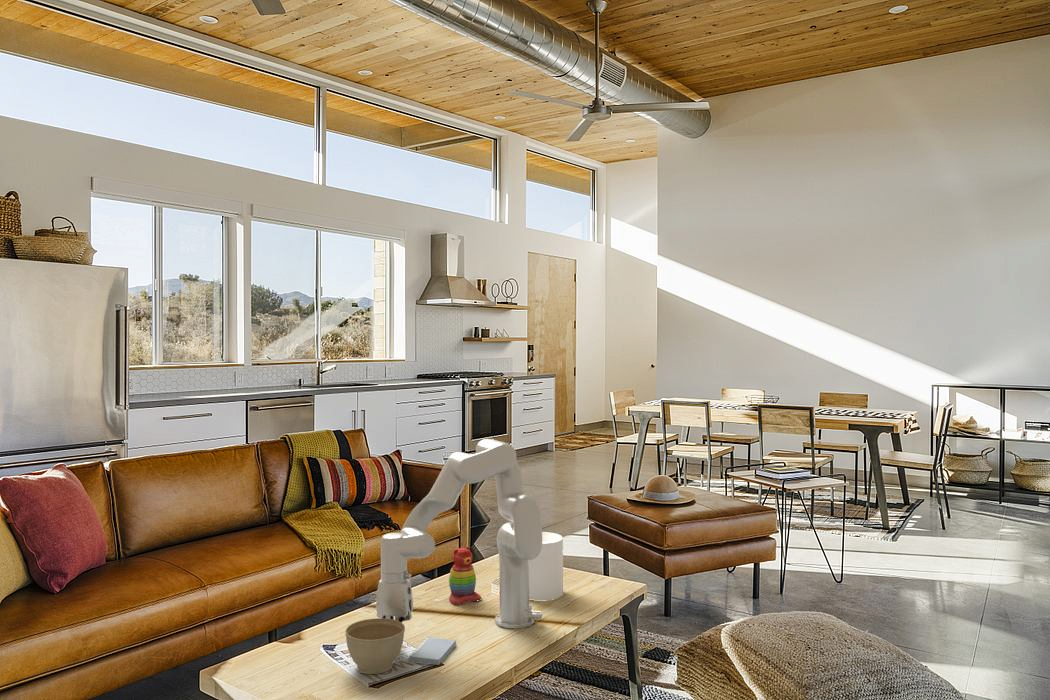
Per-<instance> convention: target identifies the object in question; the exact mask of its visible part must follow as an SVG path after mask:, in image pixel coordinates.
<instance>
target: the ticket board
mask: <svg viewBox="0 0 1050 700" xmlns="http://www.w3.org/2000/svg"><path fill="white" fill-rule="evenodd" d="M456 645H457V640H456V639H450V638H449V639H448V638H440V637H429V636H428V637H426V638H425V639H424V640H423V641H422V643H420V644H419V645H418V646H417V647H416V648H415V649H414V651H413V652H412V653H410V654H409V656H408V662H410V663H417V664H427V665H437V666H439V665H440V664H442V662H443V661H444V660H445V659H446V657H447V656H448V655H449V654H450V653H451V652H452V650H453V649H454V648H455V647H456Z"/></svg>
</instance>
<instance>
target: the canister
mask: <svg viewBox="0 0 1050 700" xmlns="http://www.w3.org/2000/svg"><path fill="white" fill-rule="evenodd" d="M563 550H564V538H563V536H562V535H561V534H558V533H555V532H550V531H549V532H548V531H542V549H541V551H540V553H539V555H538V556H537V557H536V558H534V559H532V560H528V561H529V599H534V600H551V601H553V600H552V599H555V600H557V599H556V598H558V597H560V596H562V597H563V595H564V552H563ZM560 598H561V597H560Z"/></svg>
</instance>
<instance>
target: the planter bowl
mask: <svg viewBox="0 0 1050 700" xmlns="http://www.w3.org/2000/svg"><path fill="white" fill-rule="evenodd" d="M405 630H406V626H405V624H404V623H403V622H402V623H401V622H399V621H397V620H395V619H394V620H393V619H385V618H379V617H377V618H368V619H367V618H365V619H362V620H359V621H355V622H353V623H351V624H349V625H348V626H347V627H346V628H345V632H344V633H345V637H346V638H345V639H346V646H347V650H348V654H349V655H350V658H351V660H353V662H354V663H355V665H356V668H357V670H358V671H359V672H360V673H363V674H367V675H368V674H369V675H376V674H383V673H385V672H388V671H390V670H391V669H392V668H393V664H394V662H395V660H396V659H397V658H398V656H399V654H400V652H401V650H402V647H403V645H404V644H403V643H404V637H405Z"/></svg>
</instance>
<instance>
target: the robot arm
mask: <svg viewBox="0 0 1050 700" xmlns="http://www.w3.org/2000/svg"><path fill="white" fill-rule="evenodd" d="M493 477H494V479H495V486H496V487H495V488H496V498H497V499H496V500H497V508H498V512H499V514H500V516H501V517H503V518H504V519H506V520H508V521H509V522H506V523H504V524H502V525H501V526H500V528H499V529H498V531H497V535H496V544H497V551H498V561H499V562H498V563H499V613H498V614H497V615H496V616H495V617H494V623H495V624H496V625H498V626H499V627H501V628H505V629H522V628H527V627H529V626H531V625H533V624H534V622H535V620H538V621H539V620H540V621H542V620H543V613H541V611H540V610H533V606H532V605H530V600H529V561H528V560H532V559H534V558H536V557H537V556H538V555H539V553H540V551H541V549H542V532H543V528H542V527H543V526H542V517H541V516H542V513H541V508H540V505H539V503H538V501H537V499H536V498H535V497H533V496H531V495H530V494H528V493H525V490H524V483H523V476H522V471H521V467H520V465H519V461H518V460H517V452H516V449H515V448H514V447H513V445H511V444H510V443H508V442H504V441H500V440H496V439H493V438H484V439H481V440H480V441H478V443H477V444H476V447H475V453H473V454H470V453H468V452H467V453H466V452H462V451H456V452H453V453H451V454H450V455H449V457H448V458H447V460H446V461H445V463H444V465H443V466H442V468H441V471H440V472H439V474H438V476H437V478H436V480H435V482H434V483H433V486H432V487H431V489H430V491H429V492H428V494H427V495H426V496H425V497H423V498H422V499H421V501H420V502H419V503H417V504H416V505H415V507H414V508H413V509H412V510H411V511H410V512H409V514H408V517H407V518H406V520H405V522H404V524H403V525H402V527H401V529H400V532H388V533H385V534H384V535H382V536H381V539H380V580H379V581H378V584H377V585H378V586H377V591H376V600H375V601H376V602H375V607H376V608H375V609H376V617H377V618H385V619H393V620H397V621H399V622H401V623H403V622H406V621H410V620H411V619H412V618H413V616H412V612H413V610H414V600H413V599H414V598H413V590H412V584H411V581H410V580H411V578H412V573H409V572H408V564H407V563H408V559H425V558H427V557H429V556H431V554H433V552H434V550H435V549H436V542H435V539H434V538H433V537H432V535H430V534H429V533H428V532H427V531H426V530H427V529H428V527H429V525H430V524H431V523H432V521H433V520H434V519H435V518H436V517H437V516H439V515H440V514H442V513H444V512H446V511H449V510H451V509H452V508H453V507H455V505H456V503H457V501H458V499H459V496H460V495H461V493H462V491H463V489H464V487H465V486H466V484H470V485H471V484H477V483H480V482H482V481H485V480H487V479H490V478H493Z"/></svg>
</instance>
